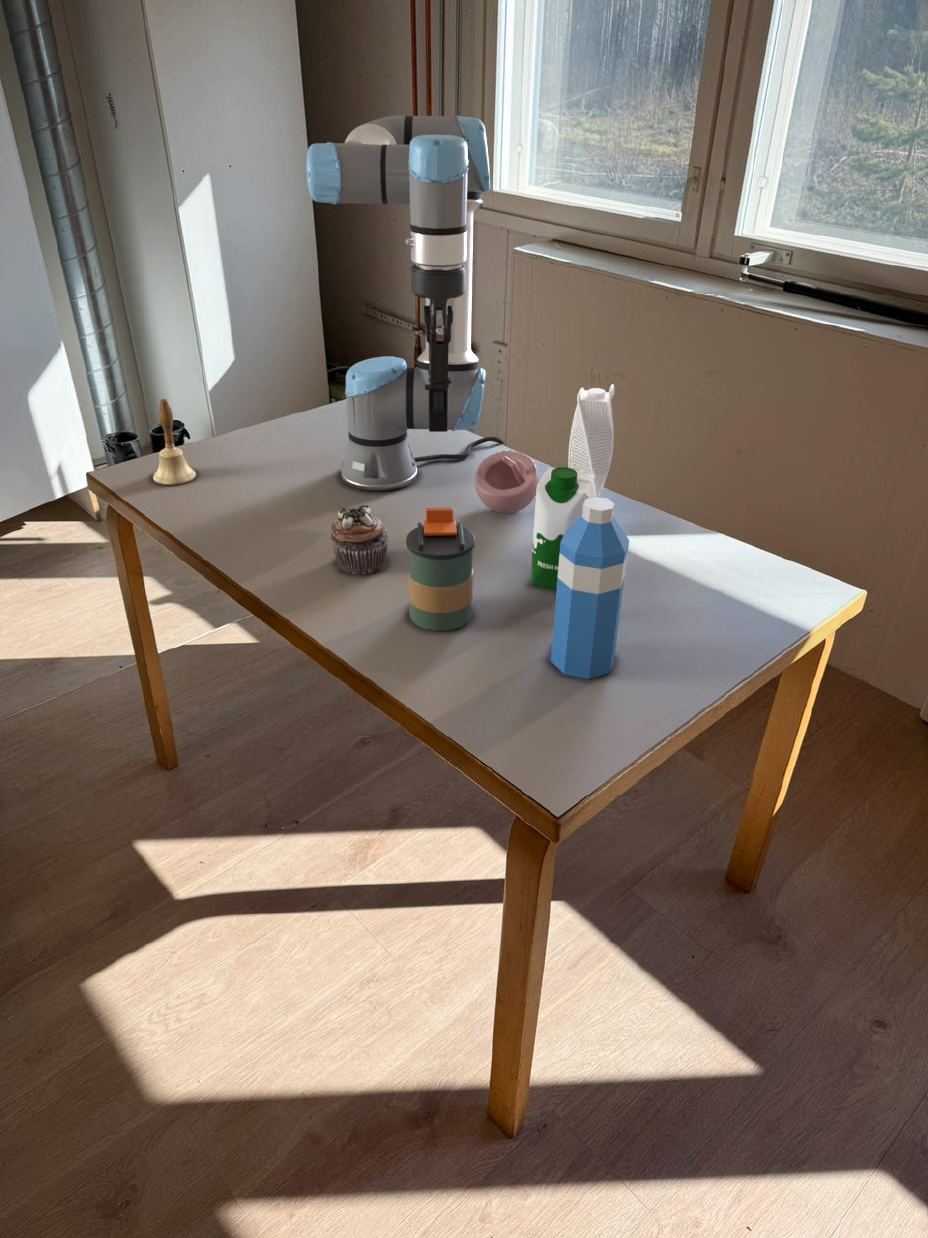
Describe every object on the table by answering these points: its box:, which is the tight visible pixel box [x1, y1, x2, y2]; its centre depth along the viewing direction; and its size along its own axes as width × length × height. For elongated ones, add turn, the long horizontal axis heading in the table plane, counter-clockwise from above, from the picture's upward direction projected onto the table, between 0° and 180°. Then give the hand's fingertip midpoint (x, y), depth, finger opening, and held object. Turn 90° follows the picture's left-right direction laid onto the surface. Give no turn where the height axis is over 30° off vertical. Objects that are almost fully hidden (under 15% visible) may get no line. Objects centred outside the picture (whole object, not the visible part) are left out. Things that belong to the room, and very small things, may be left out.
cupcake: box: [330, 504, 390, 575], centre depth 154 cm, size 10×10×10 cm
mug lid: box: [405, 521, 476, 560], centre depth 136 cm, size 10×10×2 cm
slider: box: [423, 507, 457, 536], centre depth 137 cm, size 4×5×2 cm
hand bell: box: [152, 398, 197, 486], centre depth 181 cm, size 8×8×16 cm
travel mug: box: [407, 548, 474, 632], centre depth 140 cm, size 10×10×12 cm
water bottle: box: [550, 496, 630, 680], centre depth 127 cm, size 9×9×25 cm
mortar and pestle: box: [474, 449, 540, 514], centre depth 172 cm, size 12×12×12 cm
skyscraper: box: [567, 383, 615, 497], centre depth 160 cm, size 8×8×28 cm
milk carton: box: [531, 466, 595, 590], centre depth 148 cm, size 9×9×20 cm
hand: (438, 429), depth 138 cm, fingers closed
